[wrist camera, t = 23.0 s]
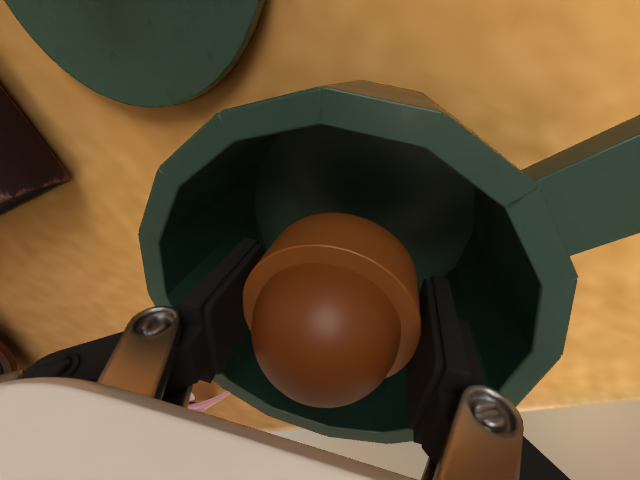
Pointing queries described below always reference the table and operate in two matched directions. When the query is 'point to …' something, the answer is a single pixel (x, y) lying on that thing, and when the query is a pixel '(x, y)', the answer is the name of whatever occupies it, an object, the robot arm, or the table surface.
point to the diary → (24, 159)
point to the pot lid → (142, 43)
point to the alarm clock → (7, 360)
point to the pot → (394, 225)
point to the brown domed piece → (333, 309)
